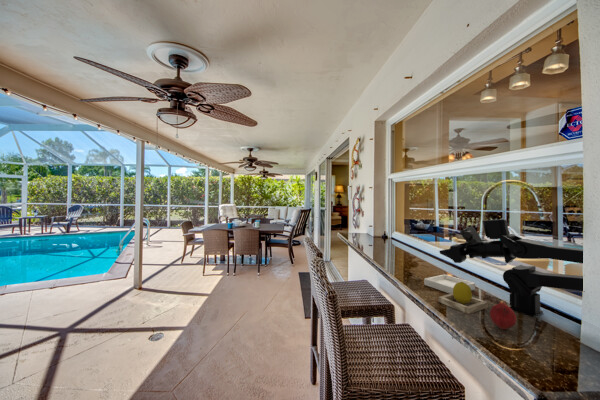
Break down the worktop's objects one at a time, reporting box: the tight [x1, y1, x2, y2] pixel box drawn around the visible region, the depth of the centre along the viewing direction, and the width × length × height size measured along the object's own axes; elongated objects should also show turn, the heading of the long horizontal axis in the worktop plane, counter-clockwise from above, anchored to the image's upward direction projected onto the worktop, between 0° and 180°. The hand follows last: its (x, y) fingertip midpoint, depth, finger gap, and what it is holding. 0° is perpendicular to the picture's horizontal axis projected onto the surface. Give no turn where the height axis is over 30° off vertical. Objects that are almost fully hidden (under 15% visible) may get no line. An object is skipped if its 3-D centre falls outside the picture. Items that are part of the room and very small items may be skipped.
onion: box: [489, 299, 517, 330], centre depth 69 cm, size 6×6×8 cm
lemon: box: [453, 282, 473, 305], centre depth 85 cm, size 6×6×8 cm
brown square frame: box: [437, 293, 489, 315], centre depth 85 cm, size 10×10×2 cm
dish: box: [423, 273, 476, 294], centre depth 102 cm, size 13×13×3 cm
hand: (445, 249), depth 101 cm, fingers open, 9 cm apart
